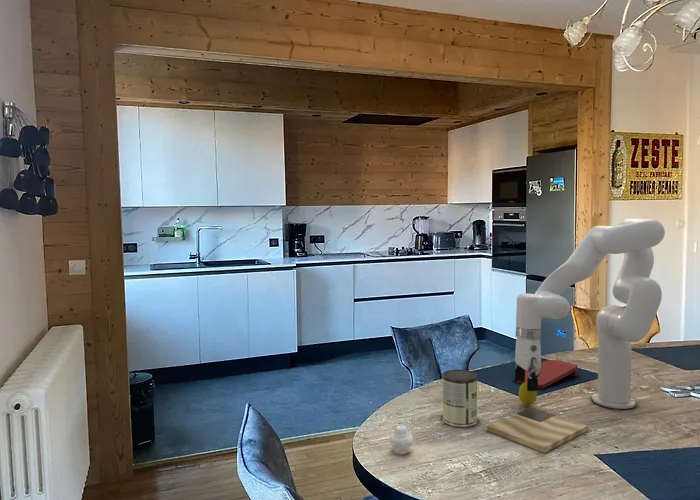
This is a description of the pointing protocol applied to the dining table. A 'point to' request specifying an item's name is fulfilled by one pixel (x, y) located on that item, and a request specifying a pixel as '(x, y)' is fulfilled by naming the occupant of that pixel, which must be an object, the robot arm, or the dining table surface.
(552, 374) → the red sloped ramp
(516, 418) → the board
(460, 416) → the coffee can
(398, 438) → the white rounded piece
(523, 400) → the lemon
